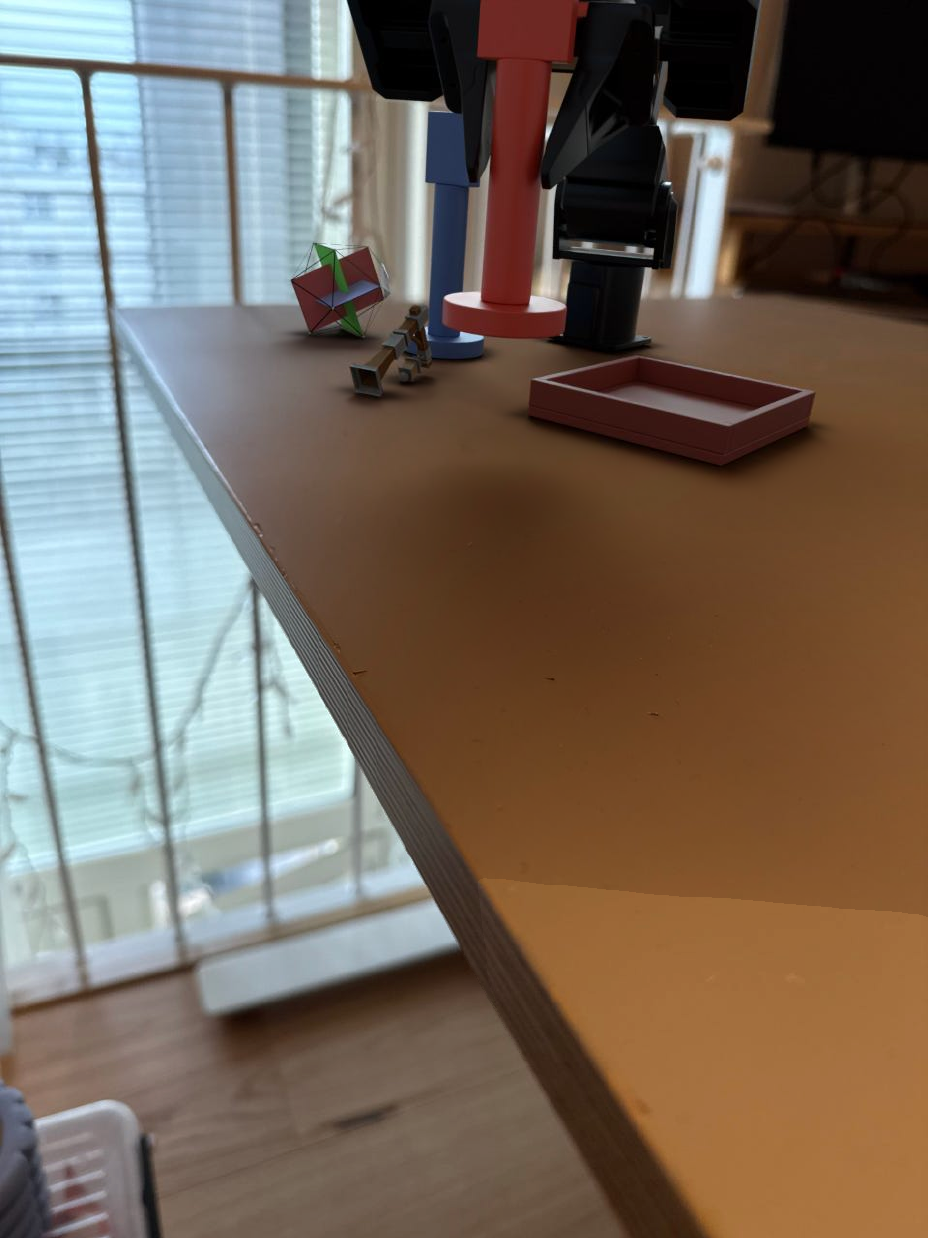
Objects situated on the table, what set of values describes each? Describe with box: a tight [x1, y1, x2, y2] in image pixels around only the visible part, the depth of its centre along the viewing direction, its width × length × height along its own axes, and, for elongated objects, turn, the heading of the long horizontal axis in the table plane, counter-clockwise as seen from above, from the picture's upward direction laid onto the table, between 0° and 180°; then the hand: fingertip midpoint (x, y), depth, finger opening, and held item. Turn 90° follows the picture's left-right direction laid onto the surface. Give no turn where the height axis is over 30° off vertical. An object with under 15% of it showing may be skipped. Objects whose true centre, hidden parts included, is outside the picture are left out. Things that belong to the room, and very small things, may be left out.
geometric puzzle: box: [289, 241, 391, 338], centre depth 71 cm, size 7×7×8 cm
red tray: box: [527, 354, 817, 467], centre depth 54 cm, size 12×12×2 cm
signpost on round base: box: [442, 0, 579, 340], centre depth 42 cm, size 6×6×16 cm
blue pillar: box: [404, 110, 485, 360], centre depth 65 cm, size 6×6×16 cm
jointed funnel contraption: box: [348, 303, 433, 397], centre depth 58 cm, size 2×8×4 cm, turn 153°
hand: (507, 178), depth 41 cm, fingers closed on signpost on round base, 3 cm apart
